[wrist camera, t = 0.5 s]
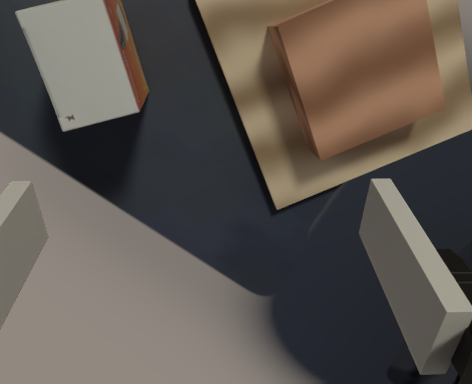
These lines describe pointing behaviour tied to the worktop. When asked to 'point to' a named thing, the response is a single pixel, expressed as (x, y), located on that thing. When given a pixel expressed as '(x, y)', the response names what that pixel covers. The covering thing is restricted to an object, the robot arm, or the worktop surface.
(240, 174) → the worktop surface
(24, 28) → the small box
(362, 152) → the tower base
